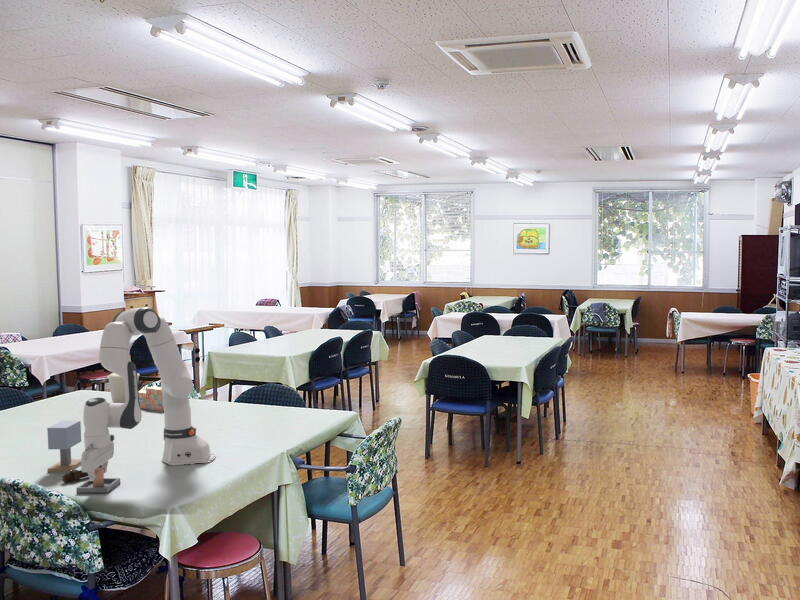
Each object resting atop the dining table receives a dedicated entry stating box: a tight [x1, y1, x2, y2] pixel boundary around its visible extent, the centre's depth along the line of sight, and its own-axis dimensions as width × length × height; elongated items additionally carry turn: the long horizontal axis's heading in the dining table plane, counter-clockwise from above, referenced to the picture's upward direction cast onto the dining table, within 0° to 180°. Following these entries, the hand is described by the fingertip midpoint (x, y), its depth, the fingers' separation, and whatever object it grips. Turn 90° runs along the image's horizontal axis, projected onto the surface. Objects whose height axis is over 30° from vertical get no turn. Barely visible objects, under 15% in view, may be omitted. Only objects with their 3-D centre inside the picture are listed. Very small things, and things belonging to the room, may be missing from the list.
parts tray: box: [76, 477, 121, 495], centre depth 275 cm, size 12×12×2 cm
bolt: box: [61, 465, 102, 483], centre depth 287 cm, size 6×5×15 cm
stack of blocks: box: [138, 386, 164, 412], centre depth 412 cm, size 21×6×12 cm, turn 63°
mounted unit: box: [46, 420, 82, 473], centre depth 301 cm, size 10×13×18 cm
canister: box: [106, 372, 140, 403], centre depth 427 cm, size 18×18×21 cm
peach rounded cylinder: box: [93, 468, 105, 487], centre depth 275 cm, size 4×4×7 cm
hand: (98, 476), depth 275 cm, fingers open, 8 cm apart
